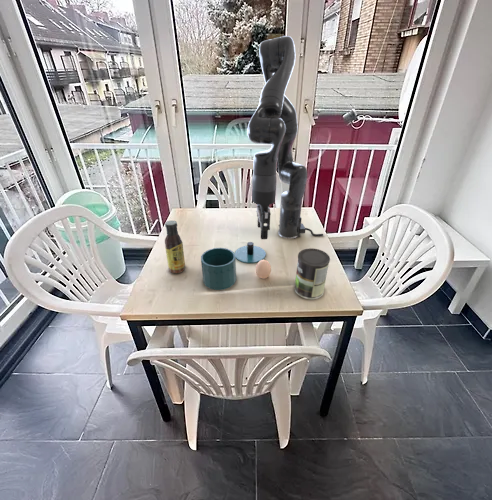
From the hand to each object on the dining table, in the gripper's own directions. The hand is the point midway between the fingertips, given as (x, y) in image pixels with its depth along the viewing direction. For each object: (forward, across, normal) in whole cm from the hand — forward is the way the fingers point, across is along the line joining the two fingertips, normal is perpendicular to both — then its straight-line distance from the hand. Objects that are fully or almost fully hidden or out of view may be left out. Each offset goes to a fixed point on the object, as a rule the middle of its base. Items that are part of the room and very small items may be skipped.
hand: (262, 232), depth 97 cm
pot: (+18, -2, +15) cm, 24 cm away
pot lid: (+18, +14, +2) cm, 22 cm away
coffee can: (+18, -10, -16) cm, 26 cm away
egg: (+18, -1, -1) cm, 18 cm away
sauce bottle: (+19, +7, +31) cm, 37 cm away
